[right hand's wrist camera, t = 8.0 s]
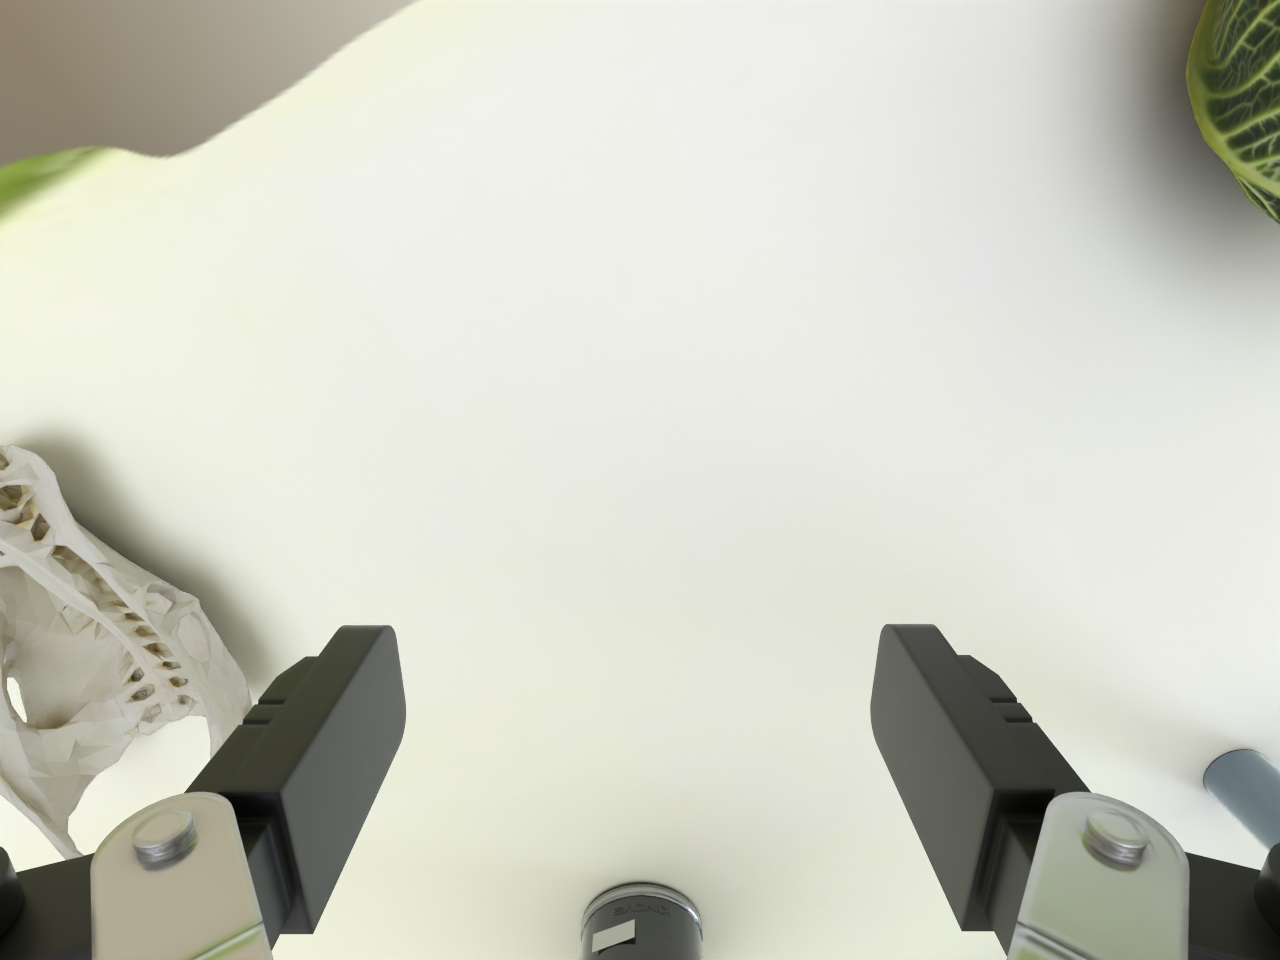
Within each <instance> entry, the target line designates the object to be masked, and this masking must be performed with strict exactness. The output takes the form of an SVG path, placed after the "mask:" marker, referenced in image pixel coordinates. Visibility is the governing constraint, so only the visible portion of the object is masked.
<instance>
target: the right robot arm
mask: <svg viewBox="0 0 1280 960" xmlns="http://www.w3.org/2000/svg"><path fill="white" fill-rule="evenodd" d="M870 710H871V723H872V729H873V734H874V737H875V741H876V743H877V745H878V748H879V750H880V752H881V754H882V756H883V759H884V761H885V763H886V765H887V767H888V770H889V772H890V774H891V776H892V778H893V781H894V783H895V785H896V787H897V789H898V792H899V794H900V796H901V798H902V800H903V803H904V805H905V807H906V809H907V812H908V814H909V816H910V818H911V820H912V823H913V825H914V827H915V829H916V831H917V834H918V836H919V838H920V840H921V842H922V845H923V847H924V849H925V851H926V853H927V856H928V858H929V860H930V862H931V864H932V867H933V869H934V871H935V873H936V875H937V878H938V880H939V882H940V884H941V886H942V889H943V891H944V893H945V895H946V897H947V900H948V902H949V904H950V906H951V908H952V911H953V913H954V915H955V917H956V919H957V922H958V924H959V926H960V928H961V930H962V931H994V932H995V934H996V936H997V938H998V940H999V942H1000V944H1001V946H1002V948H1003V950H1004V952H1005V954H1006V956H1007V960H1280V842H1279V843H1278V844H1276V845H1274V846H1273V847H1272V848H1271V849H1270V851H1269V854H1268V856H1267V858H1266V861H1265V863H1264V866H1263V868H1262V870H1261V871H1260V870H1256V869H1252V868H1248V867H1244V866H1240V865H1236V864H1232V863H1228V862H1224V861H1220V860H1215V859H1211V858H1207V857H1203V856H1199V855H1195V854H1191V853H1187V852H1184V851H1183V849H1182V847H1181V846H1180V844H1179V843H1178V842H1177V841H1176V839H1175V838H1174V837H1173V836H1172V835H1171V834H1170V833H1169V832H1168V831H1167V830H1166V829H1165V828H1164V827H1163V826H1162V825H1160V824H1159V823H1158V822H1157V821H1155V820H1154V819H1153V818H1151V817H1150V816H1148V815H1147V814H1145V813H1144V812H1142V811H1140V810H1138V809H1136V808H1135V807H1133V806H1131V805H1129V804H1126V803H1124V802H1122V801H1120V800H1117V799H1114V798H1111V797H1108V796H1104V795H1100V794H1096V793H1091V791H1090V790H1089V789H1088V788H1087V786H1086V785H1085V784H1084V783H1083V781H1082V780H1081V779H1080V777H1079V776H1078V775H1077V774H1076V772H1075V771H1074V770H1073V769H1072V767H1071V766H1070V765H1069V764H1068V762H1067V761H1066V760H1065V759H1064V757H1063V756H1062V755H1061V753H1060V752H1059V751H1058V750H1057V748H1056V747H1055V746H1054V745H1053V743H1052V742H1051V741H1050V740H1049V738H1048V737H1047V736H1046V735H1045V733H1044V732H1043V731H1042V729H1041V728H1040V727H1039V726H1038V724H1037V723H1033V721H1032V717H1031V716H1030V714H1029V713H1028V712H1027V711H1026V709H1025V708H1024V707H1023V706H1022V704H1021V703H1017V698H1016V697H1015V695H1014V694H1013V693H1012V692H1011V690H1010V689H1009V688H1008V687H1007V685H1006V684H1005V683H1004V682H1003V680H1002V679H1001V678H1000V676H999V675H998V674H996V673H995V672H993V671H992V670H990V669H989V668H987V667H986V666H985V665H983V664H982V663H980V662H979V661H977V660H976V659H974V658H973V657H972V656H970V655H957V654H956V652H955V651H954V650H953V648H952V647H951V646H950V644H949V643H948V641H947V640H946V639H945V637H944V636H943V635H942V633H941V632H940V631H939V629H938V628H937V627H936V626H935V625H933V624H886V625H885V626H884V627H883V629H882V631H881V634H880V640H879V647H878V654H877V661H876V669H875V676H874V683H873V690H872V697H871V709H870ZM405 721H406V702H405V695H404V688H403V681H402V674H401V667H400V660H399V653H398V646H397V639H396V635H395V632H394V629H393V628H392V627H391V626H389V625H344V626H342V627H340V628H339V629H338V630H337V632H336V633H335V634H334V636H333V637H332V638H331V640H330V641H329V643H328V644H327V645H326V647H325V648H324V649H323V651H322V652H321V653H320V655H319V656H318V657H305V658H303V659H302V660H300V661H299V662H298V663H296V664H295V665H293V666H292V667H290V668H289V669H287V670H286V671H284V672H283V673H282V674H280V675H279V676H277V677H276V679H275V680H274V681H273V682H272V684H271V685H270V686H269V687H268V689H267V690H266V691H265V692H264V694H263V695H262V696H261V697H260V699H259V702H258V705H254V706H253V707H252V709H251V710H250V711H249V712H248V714H247V715H246V716H245V717H244V719H243V723H242V725H238V726H237V727H236V729H235V730H234V731H233V732H232V734H231V735H230V736H229V737H228V739H227V740H226V741H225V742H224V744H223V745H222V746H221V747H220V749H219V750H218V751H217V752H216V754H215V755H214V756H213V757H212V759H211V760H210V761H209V762H208V764H207V765H206V766H205V767H204V769H203V770H202V771H201V772H200V774H199V775H198V776H197V777H196V779H195V780H194V781H193V782H192V784H191V785H190V786H189V788H188V789H187V790H186V791H185V793H184V794H180V795H176V796H172V797H169V798H166V799H163V800H160V801H158V802H156V803H154V804H151V805H149V806H147V807H145V808H144V809H142V810H140V811H138V812H136V813H135V814H133V815H132V816H130V817H129V818H127V819H126V820H125V821H123V822H122V823H121V824H120V825H118V826H117V827H116V828H115V829H114V830H113V831H112V832H111V833H110V834H109V835H108V836H107V837H106V838H105V839H104V840H103V842H102V843H101V844H100V846H99V847H98V849H97V851H96V852H95V853H92V854H89V855H85V856H82V857H78V858H73V859H69V860H65V861H61V862H57V863H53V864H49V865H45V866H41V867H37V868H33V869H29V870H25V871H20V872H15V870H14V868H13V865H12V863H11V861H10V858H9V856H8V854H7V852H6V851H5V850H4V849H3V848H2V847H0V960H273V956H272V952H271V951H272V949H273V947H274V945H275V943H276V941H277V939H278V937H279V935H280V934H313V933H314V931H315V928H316V926H317V924H318V922H319V920H320V917H321V915H322V913H323V911H324V909H325V907H326V904H327V902H328V900H329V898H330V896H331V894H332V891H333V889H334V887H335V885H336V883H337V880H338V878H339V876H340V874H341V872H342V870H343V867H344V865H345V863H346V861H347V859H348V857H349V854H350V852H351V850H352V848H353V846H354V844H355V841H356V839H357V837H358V835H359V833H360V830H361V828H362V826H363V824H364V822H365V820H366V817H367V815H368V813H369V811H370V809H371V807H372V804H373V802H374V800H375V798H376V796H377V793H378V791H379V789H380V787H381V785H382V783H383V780H384V778H385V776H386V774H387V772H388V770H389V767H390V765H391V763H392V761H393V759H394V757H395V754H396V752H397V750H398V748H399V746H400V743H401V740H402V737H403V733H404V728H405ZM581 943H582V946H581V958H580V960H703V951H702V925H701V919H700V916H699V913H698V911H697V910H696V908H695V907H694V905H693V904H692V903H691V902H690V901H689V900H688V899H687V898H685V897H684V896H682V895H681V894H679V893H677V892H675V891H673V890H671V889H668V888H665V887H661V886H657V885H650V884H634V885H627V886H622V887H618V888H615V889H613V890H610V891H608V892H606V893H604V894H603V895H601V896H600V897H598V898H597V899H596V900H595V901H594V902H593V903H592V904H591V905H590V906H589V907H588V909H587V910H586V912H585V914H584V917H583V921H582V930H581Z"/></svg>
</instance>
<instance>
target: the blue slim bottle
mask: <svg viewBox="0 0 1280 960" xmlns="http://www.w3.org/2000/svg"><path fill="white" fill-rule="evenodd" d="M1204 785H1205V788H1206V790H1207V791H1208V792H1209V793H1210V794H1211V795H1212V796H1213V797H1214V798H1215V799H1216V800H1217V801H1218V802H1219V803H1220V804H1221V805H1222V806H1223V807H1224V808H1225V809H1226V810H1227V811H1228V812H1229V813H1230V814H1231V815H1232V816H1233V817H1234V818H1235V819H1236V820H1237V821H1238V822H1239V823H1240V824H1241V825H1242V826H1243V827H1244V828H1245V829H1246V830H1247V831H1248V832H1249V833H1250V834H1251V835H1252V836H1253V837H1254V838H1255V839H1256V840H1257V841H1258V842H1259V843H1260V844H1261V845H1262V846H1263V847H1264V848H1265V849H1266V850H1267V851H1268V852H1269V851H1270V849H1271V848H1272V847H1273V846H1274V845H1276V844H1278V843H1279V842H1280V770H1279V769H1278V768H1277V767H1276V766H1275V765H1274V764H1272V763H1271V762H1270V761H1269V760H1268V759H1267V758H1265V757H1264V756H1263V755H1262V754H1260V753H1258V752H1256V751H1252V750H1237V751H1233V752H1230V753H1227V754H1225V755H1223V756H1221V757H1219V758H1218V759H1217V760H1215V761H1214V762H1213V763H1212V764H1211V765H1210V766H1209V768H1208V769H1207V771H1206V773H1205V776H1204Z"/></svg>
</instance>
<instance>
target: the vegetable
mask: <svg viewBox="0 0 1280 960" xmlns="http://www.w3.org/2000/svg"><path fill="white" fill-rule="evenodd" d="M1185 75H1186V82H1187V90H1188V94H1189V98H1190V102H1191V106H1192V110H1193V114H1194V118H1195V120H1196V122H1197V125H1198V127H1199V129H1200V132H1201V134H1202V136H1203V139H1204V141H1205V142H1206V143H1207V145H1208V146H1209V147H1210V148H1211V149H1212V150H1213V151H1214V152H1215V153H1216V154H1217V155H1218V156H1219V158H1220V159H1221V160H1222V161H1223V162H1224V163H1225V164H1226V165H1227V166H1228V168H1229V169H1230V170H1231V172H1232V173H1233V175H1234V177H1235V178H1236V180H1237V181H1238V183H1239V184H1240V186H1241V187H1242V189H1243V191H1244V192H1245V194H1246V195H1247V197H1248V198H1249V200H1250V201H1251V202H1252V203H1253V204H1254V205H1256V206H1257V207H1258V208H1259V209H1261V210H1262V211H1263V212H1265V213H1266V214H1267V215H1268V216H1270V217H1271V218H1272V219H1274V220H1275V221H1276V222H1277V223H1279V224H1280V0H1207V1H1206V3H1205V5H1204V6H1203V9H1202V12H1201V15H1200V18H1199V21H1198V24H1197V27H1196V30H1195V33H1194V36H1193V39H1192V42H1191V46H1190V51H1189V56H1188V61H1187V67H1186V72H1185Z"/></svg>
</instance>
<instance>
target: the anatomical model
mask: <svg viewBox="0 0 1280 960" xmlns="http://www.w3.org/2000/svg"><path fill="white" fill-rule="evenodd" d="M65 606H66V608H65V609H64V607H65ZM63 610H64V611H63ZM138 673H139V674H138ZM139 675H140V676H141V677H140V676H139ZM7 677H14V679H15V680H16V681H17V683H18V684H19V688H20V693H21V698H22V702H23V705H24V709H25V712H26V716H27V723H25V722H23V721H22V719H21V718H20V716H19V715H18V714H17V712H16V711H15V709H14V708H13V706H12V704H11V701H10V697H9V694H8V691H7ZM185 679H187V683H186V680H185ZM145 689H147V696H146V695H143V694H141V693H139V692H140V691H142V690H145ZM188 696H189V697H190V698H192V699H193V701H192V704H188ZM158 703H159V705H160V709H161V712H159V713H157V714H154V715H151V714H150V711H151V710H152V709H153V708H154V707H155V706H156V705H157V704H158ZM252 707H253V706H252V702H251V698H250V694H249V690H248V686H247V680H246V677H245V675H244V674H243V672H242V670H241V669H240V667H239V665H238V664H237V662H236V661H235V660H234V658H233V657H232V656H231V654H230V653H229V652H228V650H227V648H226V646H225V645H224V643H223V641H222V640H221V638H220V636H219V635H218V633H217V632H216V630H215V629H214V627H213V626H212V624H211V623H210V621H209V619H208V618H207V616H206V615H205V613H204V612H203V610H202V609H201V607H200V602H199V599H198V598H196V597H195V596H193V595H191V594H189V593H186V592H183V591H181V590H179V589H178V588H176V587H174V586H173V585H171V584H169V583H167V582H166V581H164V580H162V579H160V578H159V577H157V576H155V575H153V574H151V573H150V572H148V571H146V570H144V569H143V568H141V567H139V566H138V565H136V564H134V563H133V562H131V561H129V560H128V559H126V558H124V557H123V556H122V555H120V554H119V553H117V552H116V551H115V550H113V549H112V548H110V547H109V546H108V545H106V544H105V543H103V542H102V541H101V540H99V539H98V538H97V537H95V536H94V535H93V534H91V533H90V532H89V531H88V530H86V529H85V528H84V527H82V526H81V525H80V524H79V523H77V522H76V521H75V520H74V518H73V516H72V514H71V512H70V510H69V508H68V506H67V504H66V502H65V501H64V499H63V497H62V494H61V491H60V488H59V485H58V482H57V479H56V476H55V473H54V472H53V471H52V470H51V468H50V467H49V466H48V465H47V464H46V462H45V461H44V460H43V459H42V458H41V457H39V456H38V455H37V454H36V453H33V452H31V451H28V450H25V449H23V448H20V447H17V446H14V445H10V446H0V794H1V795H2V796H3V797H4V798H5V799H7V800H8V801H9V802H10V803H11V804H12V805H14V806H15V807H16V808H17V809H18V810H19V811H20V812H22V813H23V814H24V815H25V816H26V817H27V818H28V819H29V820H30V821H31V822H33V823H34V824H35V825H36V826H37V827H38V828H39V829H40V830H41V832H42V833H43V834H44V835H45V836H46V837H47V839H48V840H49V841H50V842H51V843H52V844H53V846H54V847H55V848H56V849H57V850H58V851H59V853H60V854H61V855H62V856H63V857H64V858H65V860H69V859H73V858H78V857H82V856H84V855H83V854H81V853H80V852H79V851H78V850H77V849H76V846H75V844H74V842H73V840H72V839H71V837H70V836H69V834H68V833H67V832H68V817H69V816H70V815H71V813H72V812H73V811H74V810H75V809H76V807H77V805H78V803H79V801H80V799H81V797H82V795H83V793H84V791H85V789H86V788H87V786H88V785H89V784H90V783H91V782H92V780H93V779H94V778H95V777H96V776H97V775H98V774H99V773H101V772H102V771H104V770H105V769H107V768H108V767H110V766H112V765H113V764H115V763H117V762H118V761H119V759H120V758H121V756H122V754H123V752H124V751H125V749H126V748H127V746H128V745H129V744H130V742H131V741H132V739H133V738H134V737H133V736H132V735H131V734H130V733H129V732H130V731H131V730H132V729H134V728H135V727H136V726H138V732H140V733H143V734H146V735H151V734H152V733H154V732H155V731H157V730H158V729H160V728H161V727H163V726H164V725H166V724H167V723H168V722H175V721H178V720H181V719H182V718H184V717H185V716H204V717H206V718H207V723H208V728H209V733H210V739H211V759H212V757H213V756H214V755H215V754H216V752H217V751H218V750H219V749H220V747H221V746H222V745H223V744H224V742H225V741H226V740H227V739H228V737H229V736H230V735H231V734H232V732H233V731H234V730H235V729H236V727H237V726H238V725H242V723H243V719H244V717H245V716H246V715H247V714H248V712H249V711H250V710H251V709H252Z"/></svg>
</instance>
